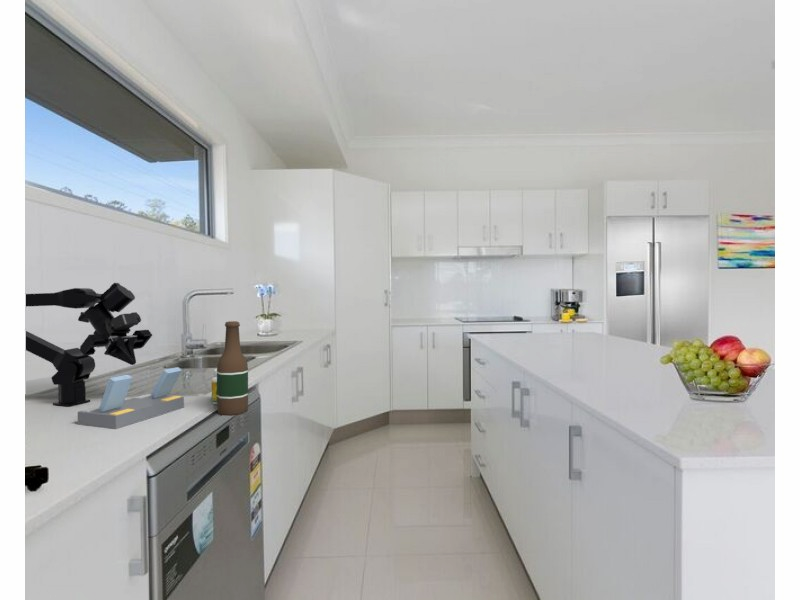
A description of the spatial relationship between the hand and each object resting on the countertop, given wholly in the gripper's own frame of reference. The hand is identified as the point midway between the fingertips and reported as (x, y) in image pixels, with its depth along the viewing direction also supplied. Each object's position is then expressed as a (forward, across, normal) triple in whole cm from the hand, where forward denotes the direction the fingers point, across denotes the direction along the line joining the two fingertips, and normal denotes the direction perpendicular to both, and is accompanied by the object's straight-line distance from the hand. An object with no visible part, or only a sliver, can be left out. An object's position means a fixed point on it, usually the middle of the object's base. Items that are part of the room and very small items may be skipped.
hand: (134, 363), depth 129 cm
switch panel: (+14, -7, +3) cm, 16 cm away
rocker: (+12, 0, -1) cm, 12 cm away
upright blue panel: (+12, -15, -1) cm, 19 cm away
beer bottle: (+30, +4, -13) cm, 33 cm away
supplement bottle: (+23, +12, -6) cm, 26 cm away
